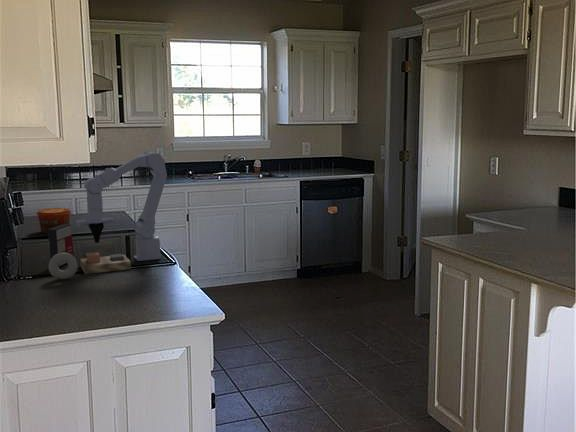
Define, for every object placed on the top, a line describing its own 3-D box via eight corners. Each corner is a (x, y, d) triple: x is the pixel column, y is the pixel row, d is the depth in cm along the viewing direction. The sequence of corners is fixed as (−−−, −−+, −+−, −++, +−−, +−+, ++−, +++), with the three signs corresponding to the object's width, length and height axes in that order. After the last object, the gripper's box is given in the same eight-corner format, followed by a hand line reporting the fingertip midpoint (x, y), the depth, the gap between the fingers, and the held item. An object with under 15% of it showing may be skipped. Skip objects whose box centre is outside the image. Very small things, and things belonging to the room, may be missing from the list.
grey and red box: (59, 267, 236) (57, 229, 233) (49, 267, 237) (47, 229, 234) (74, 260, 247) (72, 224, 244) (65, 260, 247) (62, 224, 245)
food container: (40, 229, 307) (39, 208, 305) (73, 228, 311) (72, 207, 309) (35, 235, 292) (33, 213, 290) (70, 234, 296) (69, 212, 294)
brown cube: (98, 262, 237) (97, 252, 236) (100, 264, 233) (99, 254, 233) (86, 263, 235) (86, 253, 235) (88, 266, 231) (87, 255, 231)
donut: (78, 276, 224) (76, 250, 222) (78, 279, 221) (77, 252, 219) (49, 279, 220) (47, 252, 218) (49, 281, 217) (47, 254, 215)
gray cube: (121, 263, 241) (121, 253, 241) (124, 266, 238) (123, 256, 237) (110, 264, 239) (110, 254, 239) (112, 267, 236) (112, 257, 235)
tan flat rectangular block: (124, 261, 246) (124, 254, 245) (130, 268, 235) (130, 261, 235) (80, 266, 238) (80, 258, 238) (85, 273, 228) (84, 266, 227)
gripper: (77, 211, 231) (79, 246, 234) (116, 208, 238) (117, 242, 240) (74, 208, 237) (76, 242, 240) (112, 206, 244) (113, 238, 247)
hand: (96, 242), depth 241 cm, fingers closed
